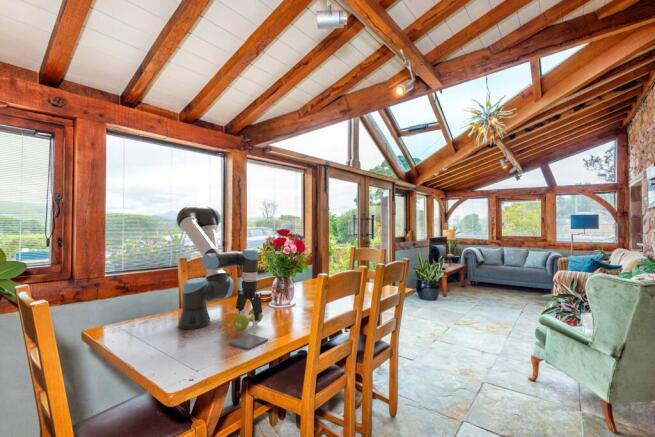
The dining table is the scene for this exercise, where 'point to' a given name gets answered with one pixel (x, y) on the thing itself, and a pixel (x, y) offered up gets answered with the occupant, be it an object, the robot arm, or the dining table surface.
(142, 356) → the dining table surface
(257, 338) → the trivet
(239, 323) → the dumbbell
